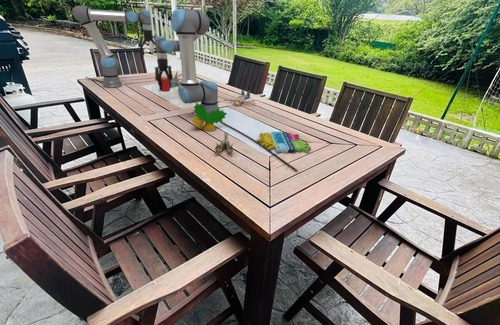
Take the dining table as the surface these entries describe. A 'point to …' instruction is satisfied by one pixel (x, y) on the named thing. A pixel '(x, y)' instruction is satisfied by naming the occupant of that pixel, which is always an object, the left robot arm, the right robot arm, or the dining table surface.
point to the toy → (241, 99)
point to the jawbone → (224, 145)
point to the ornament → (207, 117)
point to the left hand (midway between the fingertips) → (150, 54)
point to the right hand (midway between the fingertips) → (165, 88)
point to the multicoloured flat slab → (283, 142)
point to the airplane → (175, 81)
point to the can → (165, 84)
